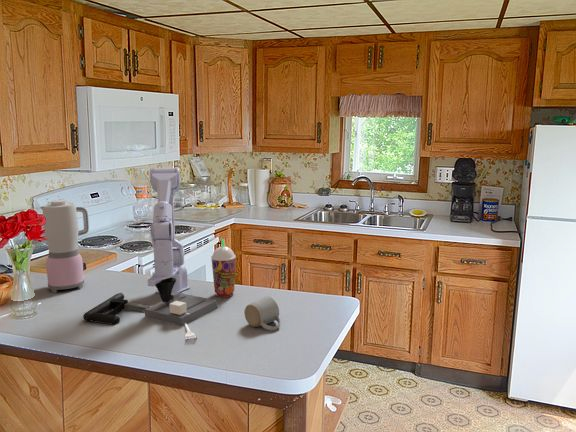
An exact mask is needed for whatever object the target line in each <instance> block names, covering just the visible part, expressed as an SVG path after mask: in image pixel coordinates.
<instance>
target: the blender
mask: <svg viewBox="0 0 576 432" xmlns="http://www.w3.org/2000/svg"><path fill="white" fill-rule="evenodd" d="M39 208H40V209H41V210H42V217H43V216H45V218H46V224H45V225H43V231H44V230H45V233H44V232H43V234H44V239H45V242H46V246H47V249H48V255H47V259H46V262H45V266H46V275H47V276H46V278H47V288H48V289H50V290H51V293H58V290H69V289H74V288H77V289H78V290H81V289H83V287H84V284H85V278H84V277H85V276H84V271H86V270H87V263H86V262H83V257H82V255H81V254H80V252H79V250H78V242H79V236H83V235H86V234H88V233H89V226H90V223H89V214H88V213H89V212H88V211H87V209H86V208H84V207H83V206H82V207H81V206H76V203H74V202H67V199H58V200H57V199H56V200H51V201H50V203H47V204H43V206H39ZM78 212H80V213H82V221H83V229H81V230H79V219H78ZM46 238H47V240H46Z"/></svg>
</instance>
